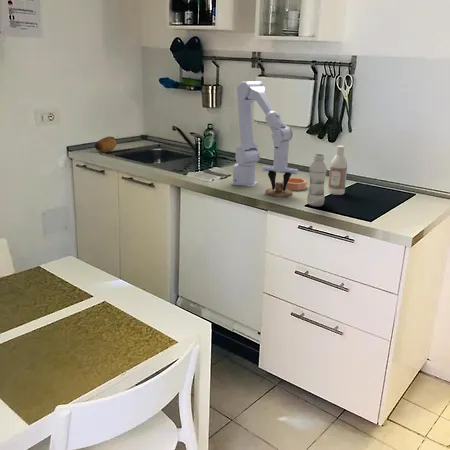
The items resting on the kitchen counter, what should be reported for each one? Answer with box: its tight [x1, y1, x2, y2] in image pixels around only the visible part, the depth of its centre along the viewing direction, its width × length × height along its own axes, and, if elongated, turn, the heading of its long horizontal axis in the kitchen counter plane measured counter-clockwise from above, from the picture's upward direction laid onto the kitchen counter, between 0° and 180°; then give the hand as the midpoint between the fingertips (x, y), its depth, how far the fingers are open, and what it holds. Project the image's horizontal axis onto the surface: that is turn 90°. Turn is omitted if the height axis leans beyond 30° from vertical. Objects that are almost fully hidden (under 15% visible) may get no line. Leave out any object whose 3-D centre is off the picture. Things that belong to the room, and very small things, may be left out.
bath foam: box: [327, 145, 348, 196], centre depth 219 cm, size 7×7×20 cm
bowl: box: [281, 177, 308, 192], centre depth 227 cm, size 10×10×4 cm
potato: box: [94, 135, 117, 153], centre depth 290 cm, size 8×13×8 cm
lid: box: [264, 181, 293, 198], centre depth 217 cm, size 11×11×4 cm
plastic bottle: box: [306, 153, 328, 207], centre depth 201 cm, size 6×7×20 cm
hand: (278, 189), depth 218 cm, fingers open, 4 cm apart
